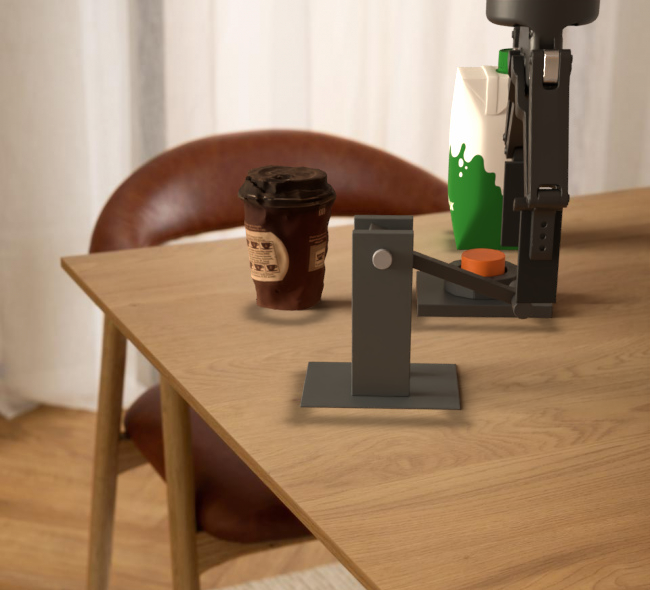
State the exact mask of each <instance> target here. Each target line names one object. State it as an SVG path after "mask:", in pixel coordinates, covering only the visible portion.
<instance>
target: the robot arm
mask: <svg viewBox="0 0 650 590" xmlns="http://www.w3.org/2000/svg"><path fill="white" fill-rule="evenodd" d="M485 1H486V2H485V17H486V19H487V21H488V22H490V23H491V24H493V25H497V26H500V27H508V28H513V30H511V39H512V47H511V48H512V50H509V52H508V75H509V79H508V102H507V113H506V123H505V133H504V134H503V141H504V145H505V148H504V154H505V155H506V159H512V161H505V166H504V186H503V206H502V226H501V247H518V250H517V263H516V265H517V280H516V297H515V300H516V303H552V304H557V294H558V281H559V267H560V266H559V264H560V253H561V252H560V251H561V239H562V228H563V227H562V226H563V213H564V212H563V211H564V209H567V208H568V206H569V203H570V201H571V195H570V194H569V163H570V162H569V157H570V153H569V151H570V149H569V148H570V142H569V141H570V85H571V74H572V71H573V62H574V55H573V54H572V49H571V48H563V47H564V37H563V33H564V29H565V28H567V27H581V26H587V25H590V24H592V23H594V22H595V21H596V20H597V19H598V17H599V15H600V7H601V0H485Z"/></svg>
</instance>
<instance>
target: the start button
mask: <svg viewBox="0 0 650 590" xmlns="http://www.w3.org/2000/svg"><path fill="white" fill-rule="evenodd" d="M460 260H461V268H462V269H465V270H467V271H470V272H473V273H475V274H478V275H481V276H484V277H492V276H498V275H503V274H504V271H505V261H506V254H505V253H504V252H503V251H502V250H494V249H483V248H479V249H470V250H463V251H462V252H461V259H460Z"/></svg>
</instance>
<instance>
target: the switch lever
mask: <svg viewBox="0 0 650 590" xmlns="http://www.w3.org/2000/svg"><path fill="white" fill-rule="evenodd" d="M369 230H389V229H387V228H384V227H381V226H379V225H376V224H373V223H371V225H370V228H369ZM413 270H416V271H422V272H425V273H427V274H430V275H433V276H435V277H438V278H441V279H443V280H446V281H449V282H452V283H454V284H457V285H460V286H462V287H465V288H468V289H471V290H473V291H476V292H479V293H481V294H484V295H487V296H490V297H492V298H495V299H498V300H500V301H503V302H506V303H508V304H511V305H512V308H513V312H514V314H515V316H516V317H517V318H516V319H519V320H526V319H530V318H529V317H530V316H531V315H532V313H533V305H532V303H516V300H515V297H516V280H514V281H513V282H511V283H510V285H509V286H508V285H505V284H502V283H500V282H497V281H494V280H492V279H489V278H486V277H484V276H481V275H478V274H475V273H473V272H470V271H467V270H465V269H462V268H459V267H457V266H454V265H451V264H449V262H445V261H443V260H440V259H438V258H435V257H433V256H430V255H427V254H424V253H421V252H419V251H417V250H413Z"/></svg>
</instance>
